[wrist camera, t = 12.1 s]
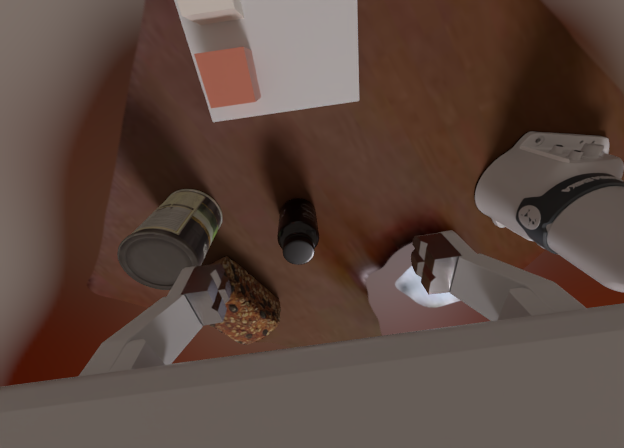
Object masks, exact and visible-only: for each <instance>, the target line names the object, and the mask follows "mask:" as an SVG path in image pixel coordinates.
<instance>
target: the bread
mask: <svg viewBox="0 0 624 448" xmlns="http://www.w3.org/2000/svg"><path fill="white" fill-rule="evenodd" d="M218 263H220V264H222V265H223V267H224V269H225V272H224V276H226V277H227V278H228V279H229V281H230V285H231V296H230V300H229V301H228V302H227V303H226V304H225V305H226V308H227V310H226V314H225V317H224V321H223V322H222V323H216V324H210V326H212V327H215V328H216V329H218V330H219V331H220V332H222V333H224V334H226V335H227V336H228V337H230V338H232V339H233V340H235V341H236V342H238V343H241V344H244V345H245V344H246V345H247V344H250V343H252V342H255V341H257V340H261V339H263V338H264V337H266V335H268V334H269V333H270V332H271V331H274V330H275V328H276V327H277V326H278V324H279V322H280V311H281V309H280V302H279V300H278V298H277V297H275V296H274V295H273V294H272V293H271V292H270V291H269V290H267V289H266V288H265V287H264V286H263V285H261V283H259V282H258V281H257V280H256V279H255V278H254V277H252V276H251V275H250V274H248V273H247V271H246V270H244V269H243V268H242V267H241V266H240V265H238V264H237V263H236V262H235V261H232V260H231V259H230V258H229V257H227V256H226V257H223V258H221V259H219V260H217V261H216V262H214V263H212V264H218Z"/></svg>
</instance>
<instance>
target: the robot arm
mask: <svg viewBox="0 0 624 448" xmlns="http://www.w3.org/2000/svg"><path fill="white" fill-rule="evenodd" d="M536 139H537V140H536ZM608 152H609V140H608V138H606V137H603V136H595V135H580V134H565V133H549V132H534V131H532V132H528V133H526V134H525V135H524V136H523V137H522V138H521V139H520V140H519V141H518V142H517V143H516V144H515V146H514V147H513V148H512V149H510V150H509V151H508V152H506V153H505V154H503V155H502V156H500V157H499V158H498V159H496V160H495V161H494V162H493V163H492V164H491V165H490V166H489V167H488V168H487V169H486V171H485V172H484V173H483V175H482V176H481V178H480V180H479V182H478V184H477V187H476V191H475V202H476V205H477V207H478V209H479V210H480V211H481V212H482V213H484V214H485V215H487V216H489V217H491V218H492V220H493V222H494V224H495V225H497V226H498V227H500V228H503V227H507V228H508V229H510V230H512V231H513V232H515V233H517V234H519V235H520V236H522V237H524V238H526V239H527V240H530V241H534V242H536V243H537V244H538V245H539V246H540V247H542V248H544V249H546V250H548V251H550V252H551V253H554V254H559V255H560V256H562V257H563V258H565V259H566V260H568V261H569V262H570V263H572V264H573V265H575V266H576V267H578V268H579V269H581V270H582V271H583V272H585V273H586V274H588V275H589V276H591V277H592V278H594V279H595V280H597V281H598V282H599V283H601V284H602V285H604V286H606V287H608V288H610V289H612V290H615V291H619V292H624V182H623V180H621V177H622V174H623V170H624V165H623V161H622V160H621V159H620V158H619V157H616V156H613V155H610V154H608ZM413 246H414V247H415V249H414V250H413V252H412V254H411V262H412V266H413V269H414V271H415V273H416V274H417V275H418V276H420V277H422V279H421V283H422V284H423V286H424V288H425V289H426V291H427V293H428V294H437V293H446V292H450V293H451V294H452V295H454V296H455V297H457V298H458V299H460V300H461V301H463V302H464V303H466V304H467V305H469V306H470V307H472V308H473V309H475V310H476V311H477V312H479V313H480V314H482V315H483V316H485V317H486V318H488V319H489V320H491V321H489V322H482V323H474V324H467V325H460V326H452V327H445V328H437V329H430V330H422V331H415V332H407V333H400V334H392V335H385V336H377V337H370V338H362V339H355V340H347V341H340V342H332V343H325V344H318V345H310V346H303V347H295V348H288V349H281V350H274V351H265V352H258V353H250V354H243V355H236V356H228V357H221V358H213V359H206V360H198V361H191V362H184V363H176V364H171V363H172V362H173V361H174V360H175V359H176V357H177V356H178V355H179V354H180V353H181V351H182V350H183V349H184V348H185V347H186V346H187V344H188V343H189V342H190V341H191V340H192V338H193V337H194V336H195V335H196V334H197V332H198V331H199V330H200V329H201V328H202V326H204V325H210V324H216V323H222V322H223V321H224V317H225V314H226V310H227V308H226V305H225V304H226V303H227V302H228V301H229V300H230V296H231V285H230V281H229V279H228V278H227V277H226V276H224V272H225V269H224V267H223V265H222V264H220V263H218V264H210V265H201V266H194V267H186V268H184V269H182V271H181V273H180V274H179V276H178V278H177V280H176V281H175V283H174V285H173V287H172V288H171V290H170V292H169V294H168V295H167V297H163V298H161V299H160V300H159V301H158V302H156V303H155V304H154V305H152V306H151V307H150V308H148V309H147V310H146V311H144V312H143V313H142V314H140V315H139V316H138V317H136V318H135V319H134V320H132V321H131V322H130V323H128V324H127V325H126V326H124V327H123V328H122V329H120V330H119V331H118V332H117V333H115V334H114V335H112V336H111V337H110V338H108V339H107V340H106V341H104V342H103V343H102V344H101V346H100V347H99V348H98V350H97V351H96V353H95V354H94V355H93V357H92V358H91V360H90V361H89V362H88V364H87V365H86V367H85V368H84V369H83V371H82V372H81V374H80V375H79V377H72V378H64V379H57V380H50V381H43V382H34V383H28V384H20V385H12V386H5V387H0V448H624V304H616V305H609V306H601V307H594V308H585V307H584V306H583V305H582V304H581V303H579V302H578V301H577V300H576V299H574V298H573V297H572V296H571V295H569V294H568V293H567V292H566V291H565V290H563V289H562V288H561V287H559V286H558V285H557V284H556V283H555V282H552V281H550V280H547V279H544V278H542V277H539V276H537V275H534V274H531V273H529V272H527V271H524V270H521V269H519V268H516V267H514V266H511V265H509V264H506V263H503V262H501V261H498V260H496V259H493V258H491V257H488V256H485V255H483V254H476V253H475V252H474V251H473V250H472V249H471V248H470V247H469V246H468V245H467V244H466V243H465V242H464V241H463V240H462V239H461V238H460V237H459V236H458V235H457V234H456V233H455V232H454V231H445V232H439V233H435V234H428V235H421V236H415V237H414V239H413Z"/></svg>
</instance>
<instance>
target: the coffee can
mask: <svg viewBox="0 0 624 448" xmlns="http://www.w3.org/2000/svg"><path fill="white" fill-rule="evenodd" d="M221 223H222V212H221V209H220V207H219V205H218V204H217V203H216V202H215V200H214V199H213V198H211V197H210V196H209V195H207V194H205V193H203V192H201V191H198V190H194V189H181V190H178V191H175V192H174V193H172V194H171V195H170V196H169V197H168V198H167V199H166V200H165V201H164V202H163V203H162V204H161V205H160V206H159V207H158V208H157V209H156V210H155V211H154V212H153V213H152V214H151V215H150V216H149V217H148V218H147V219H146V220H145V221H144V222H143V223H142V224H141V225H140V226H139V227H138V228H137V229H136V230H135V231H134V232H133V233H132V234H131V235H129V236H128V237H126V238H125V239H124V240H123V241H122V242H121V244H120V246H119V248H118V260H119V263H120V265H121V266H122V268H123V269H124V271H125V272H126V273H127V274H128V275H129V276H130V277H132V278H133V279H134V280H136V281H137V282H139V283H141V284H143V285H146V286H148V287H152V288H155V289H161V290H171V288H172V287H173V285H174V283H175V281H176V280H177V278H178V276H179V274H180V273H181V271H182V269H184V268H186V267H194V266H201V264H202V262H203V260H204V258H205V256H206V254H207V251H208V249H209V247H210V245H211V243H212V241H213V239H214V237H215V235H216V233H217V231H218V229H219V227H220V226H221Z"/></svg>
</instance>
